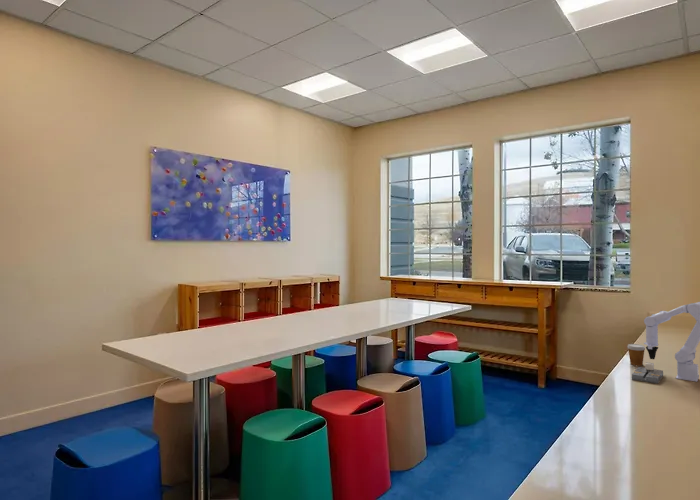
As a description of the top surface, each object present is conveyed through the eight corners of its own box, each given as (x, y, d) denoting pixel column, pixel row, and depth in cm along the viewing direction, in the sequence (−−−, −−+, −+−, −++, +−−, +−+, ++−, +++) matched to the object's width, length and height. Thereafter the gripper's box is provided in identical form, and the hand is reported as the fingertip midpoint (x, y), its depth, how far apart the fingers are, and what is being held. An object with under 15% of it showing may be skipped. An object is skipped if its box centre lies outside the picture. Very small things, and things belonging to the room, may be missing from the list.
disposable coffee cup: (645, 367, 264) (644, 347, 264) (626, 365, 270) (626, 346, 270) (646, 363, 272) (645, 344, 272) (628, 361, 277) (627, 343, 277)
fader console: (663, 375, 247) (663, 370, 247) (657, 383, 233) (657, 378, 233) (638, 371, 255) (638, 366, 255) (631, 379, 242) (631, 374, 242)
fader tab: (653, 371, 249) (653, 362, 249) (653, 373, 247) (652, 364, 247) (646, 370, 251) (646, 361, 251) (645, 371, 249) (645, 362, 249)
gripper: (646, 333, 264) (646, 355, 264) (641, 337, 253) (641, 360, 253) (660, 334, 259) (660, 357, 259) (656, 339, 248) (656, 362, 249)
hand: (652, 358), depth 256 cm, fingers closed
